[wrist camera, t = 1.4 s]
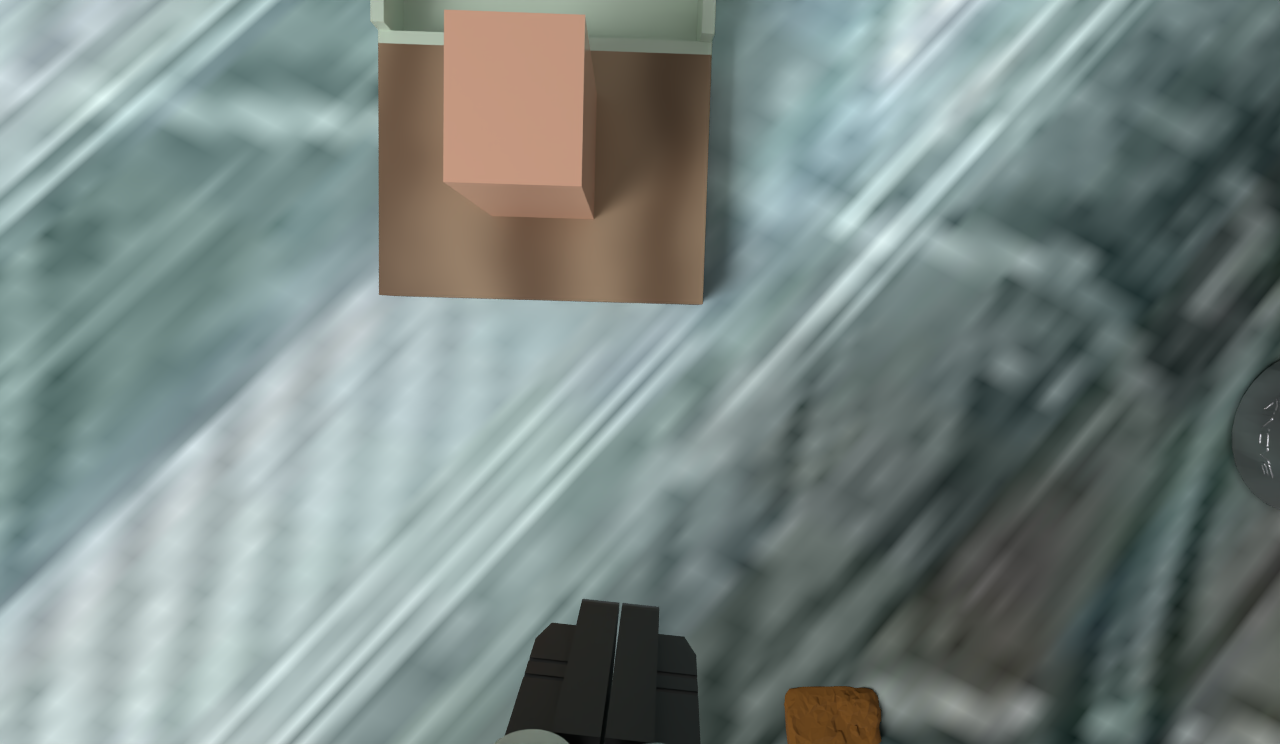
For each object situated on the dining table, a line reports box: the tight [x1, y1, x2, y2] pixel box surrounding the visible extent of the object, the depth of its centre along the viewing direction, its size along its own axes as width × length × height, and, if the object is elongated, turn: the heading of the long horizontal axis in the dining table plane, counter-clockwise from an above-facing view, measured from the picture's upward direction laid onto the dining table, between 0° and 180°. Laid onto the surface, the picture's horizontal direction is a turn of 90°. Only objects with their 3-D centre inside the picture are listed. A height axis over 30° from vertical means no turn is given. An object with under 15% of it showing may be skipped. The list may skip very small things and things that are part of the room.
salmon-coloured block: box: [443, 10, 597, 219], centre depth 30 cm, size 5×6×9 cm
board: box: [378, 43, 712, 305], centre depth 35 cm, size 16×12×2 cm
